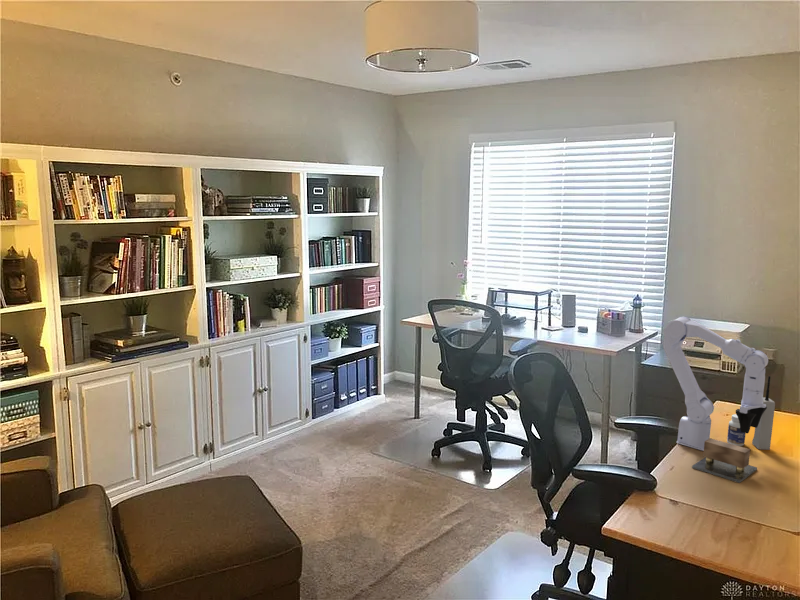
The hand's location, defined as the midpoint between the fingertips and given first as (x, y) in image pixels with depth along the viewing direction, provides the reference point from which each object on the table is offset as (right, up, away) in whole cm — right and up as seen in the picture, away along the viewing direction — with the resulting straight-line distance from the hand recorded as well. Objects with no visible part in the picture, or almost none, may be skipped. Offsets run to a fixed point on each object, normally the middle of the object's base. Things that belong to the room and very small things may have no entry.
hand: (749, 429), depth 210 cm
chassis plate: (-12, -11, -8) cm, 18 cm away
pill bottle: (+3, -8, +13) cm, 16 cm away
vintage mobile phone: (+9, -8, +10) cm, 16 cm away
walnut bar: (-12, -8, -8) cm, 16 cm away
